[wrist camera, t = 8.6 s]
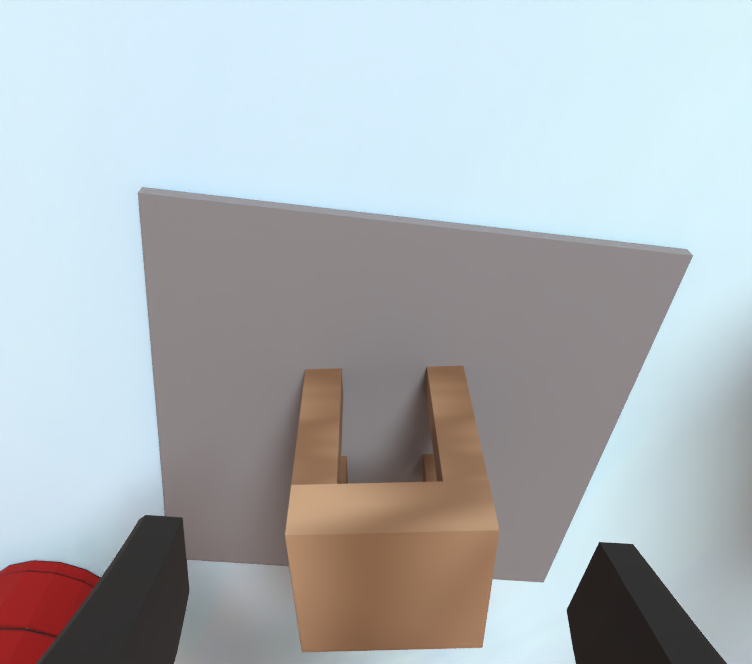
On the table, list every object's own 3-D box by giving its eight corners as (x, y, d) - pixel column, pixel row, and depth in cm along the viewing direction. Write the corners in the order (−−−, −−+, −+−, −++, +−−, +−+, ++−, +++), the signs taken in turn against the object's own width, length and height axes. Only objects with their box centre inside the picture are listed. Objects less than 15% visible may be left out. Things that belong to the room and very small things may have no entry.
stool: (463, 365, 21) (499, 530, 15) (454, 476, 24) (482, 647, 18) (305, 369, 21) (284, 534, 15) (315, 479, 24) (302, 652, 18)
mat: (686, 249, 19) (693, 255, 19) (541, 574, 28) (543, 582, 28) (142, 187, 18) (137, 192, 17) (171, 550, 26) (168, 558, 26)
